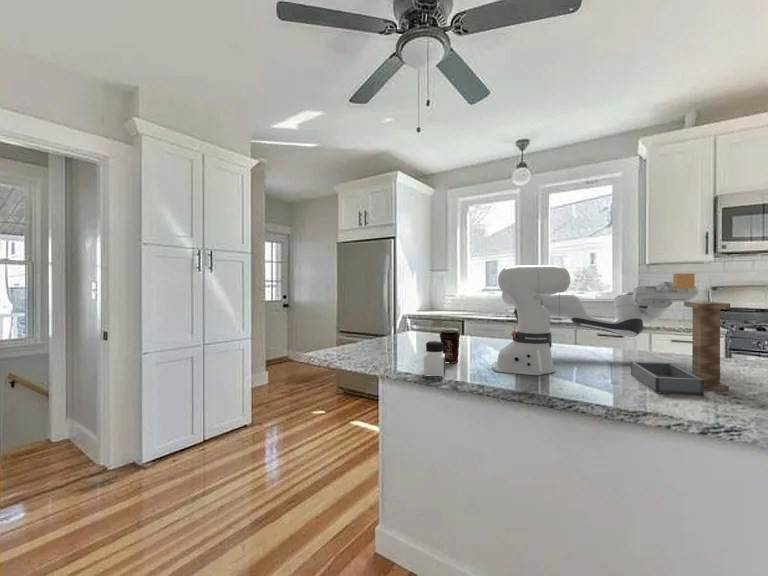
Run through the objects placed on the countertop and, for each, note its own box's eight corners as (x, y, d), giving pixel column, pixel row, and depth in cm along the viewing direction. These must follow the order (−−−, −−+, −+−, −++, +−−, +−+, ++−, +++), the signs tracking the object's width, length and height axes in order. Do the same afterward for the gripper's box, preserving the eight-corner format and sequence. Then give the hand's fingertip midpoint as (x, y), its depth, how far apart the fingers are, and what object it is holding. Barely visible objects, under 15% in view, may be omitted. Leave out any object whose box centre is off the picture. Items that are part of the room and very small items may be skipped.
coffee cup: (439, 359, 166) (439, 329, 166) (459, 359, 165) (459, 329, 165) (440, 364, 158) (439, 332, 157) (461, 364, 157) (460, 332, 156)
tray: (655, 392, 115) (655, 377, 115) (630, 374, 136) (630, 361, 136) (703, 395, 112) (704, 379, 112) (670, 376, 133) (670, 363, 133)
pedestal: (697, 389, 117) (698, 303, 117) (683, 382, 126) (684, 301, 125) (729, 391, 115) (730, 303, 114) (713, 383, 124) (713, 301, 123)
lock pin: (677, 288, 133) (677, 273, 133) (659, 286, 148) (659, 273, 148) (694, 288, 132) (694, 273, 132) (674, 286, 146) (674, 273, 146)
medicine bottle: (444, 377, 137) (443, 343, 137) (424, 376, 138) (423, 343, 138) (445, 372, 144) (444, 340, 144) (426, 372, 145) (425, 339, 145)
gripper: (691, 307, 151) (707, 290, 139) (630, 307, 156) (641, 291, 145) (687, 292, 154) (702, 275, 142) (628, 293, 159) (638, 276, 148)
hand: (671, 283), depth 143 cm, fingers closed on lock pin
